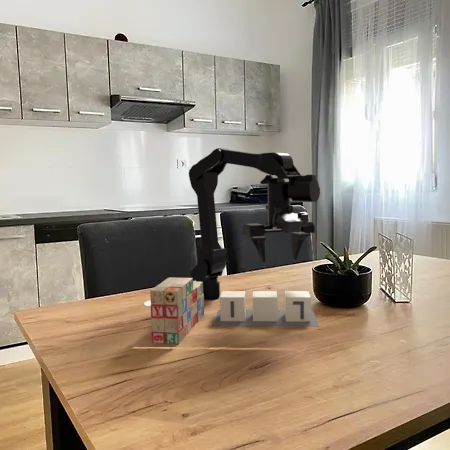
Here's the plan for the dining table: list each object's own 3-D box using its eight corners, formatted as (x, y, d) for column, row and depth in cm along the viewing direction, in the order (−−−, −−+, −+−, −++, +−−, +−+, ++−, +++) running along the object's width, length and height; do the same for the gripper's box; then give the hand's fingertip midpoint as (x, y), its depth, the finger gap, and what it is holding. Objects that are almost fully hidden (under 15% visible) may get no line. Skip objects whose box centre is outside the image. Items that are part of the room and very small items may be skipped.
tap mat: (212, 327, 107) (212, 325, 107) (218, 311, 120) (218, 309, 120) (318, 327, 105) (318, 326, 105) (312, 311, 118) (312, 310, 118)
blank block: (253, 321, 110) (252, 297, 110) (253, 313, 116) (253, 291, 115) (277, 321, 110) (277, 297, 109) (276, 314, 116) (276, 291, 115)
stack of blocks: (181, 315, 118) (180, 269, 117) (204, 316, 117) (203, 269, 115) (151, 345, 97) (149, 289, 96) (179, 346, 96) (177, 290, 94)
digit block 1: (220, 321, 111) (219, 297, 110) (222, 313, 117) (222, 291, 116) (244, 321, 110) (244, 297, 110) (245, 313, 116) (245, 291, 116)
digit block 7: (285, 321, 109) (285, 297, 109) (284, 314, 115) (284, 291, 115) (310, 321, 109) (310, 297, 108) (308, 314, 115) (308, 291, 114)
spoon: (181, 292, 143) (181, 290, 143) (156, 308, 126) (156, 306, 126) (165, 291, 145) (165, 290, 145) (139, 306, 128) (139, 305, 127)
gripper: (259, 204, 106) (260, 270, 107) (327, 201, 112) (327, 263, 114) (241, 202, 116) (241, 262, 117) (304, 200, 122) (304, 256, 124)
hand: (279, 261), depth 118 cm, fingers open, 9 cm apart
